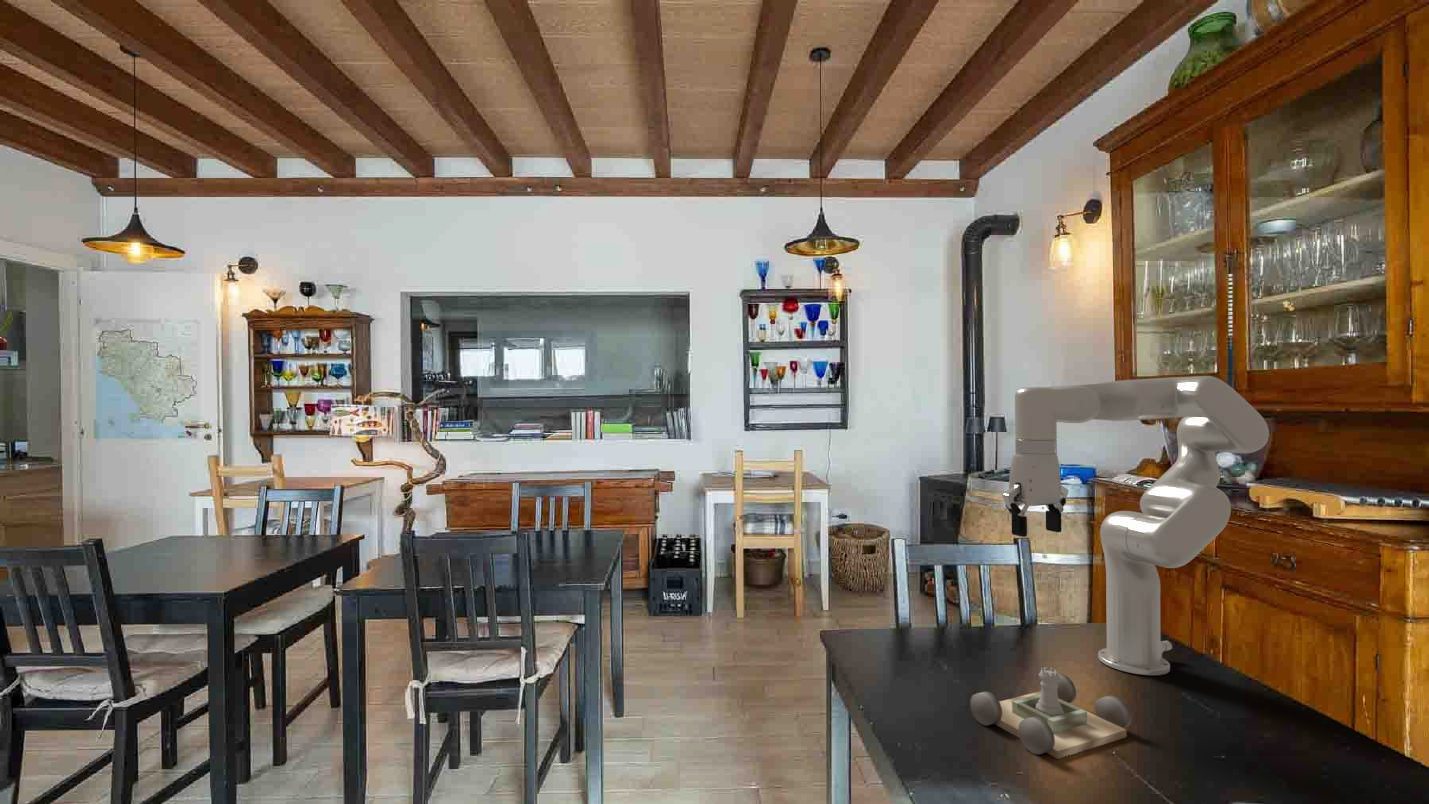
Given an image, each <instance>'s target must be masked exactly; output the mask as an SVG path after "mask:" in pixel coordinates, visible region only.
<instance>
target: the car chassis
mask: <svg viewBox="0 0 1429 804" xmlns="http://www.w3.org/2000/svg"><path fill="white" fill-rule="evenodd" d="M1058 675H1059V677H1060V679H1059V680H1058V681H1057V685H1058V686H1059V687H1058V688H1057V693H1058V700H1059V703H1060V704H1061V707H1062V708H1063V711H1064V713H1063V714H1062V715H1059V716H1056V717H1050V716H1048V715H1046V714H1044V713H1042V712H1040V711H1038V710H1036V707H1035V706H1036V704H1037V703H1038V700H1039V699H1040V696H1041V690H1039V691H1035V692H1032V693H1028V694H1023V695H1020V696H1016V697H1012V698H1009V699H1005V700H1000V701H999V699H998V698H997V697H996V695H994V694H993V693H992V692H990V691H982V692H977V693H975V694H973V695H972V696H971V697H970V701H969V702H970V704H969V705H970V709H971V712H972V715H973V717H974V719H975V720H976V721H977V722H978V723H980V725H983V726H990V725H996V726H997V727H999V728H1001V729H1003V730H1004V731H1006V732H1008V733H1009V734H1012V735H1013V736H1015V737H1017V738H1019V739H1020V741H1021V743H1022V745H1023V746H1024V747H1025V749H1026V750H1027V751H1029V752H1030V753H1032V754H1034V755H1042V754H1045V753H1046V754H1048V755H1049V756H1051V755H1052V756H1051V757H1053V756H1054V757H1053V758H1055V759H1057V760H1059V759H1063V758H1065V756H1066V757H1069V756H1072V755H1075V754H1079V753H1081V752H1085V751H1088V750H1091V749H1094V748H1097V747H1101V746H1103V745H1107V744H1109V743H1112V742H1113V743H1114V742H1115V741H1118V740H1121V739H1125V738H1127V736H1128V735H1127V734H1128V733H1127V731H1128V730H1127V729H1126V728H1127V727H1129V726H1130V725H1131V722H1132V713H1131V709H1130V708H1129V706H1128V705H1127V703H1126V702H1125V701H1124V700H1123V699H1122V698H1120V697H1118V696H1117V695H1116V696H1115V695H1107V696H1103V697H1100V698H1098V699H1097V700H1096V701H1095V704H1094V711H1095V714H1093V713H1091V712H1089V711H1087V710H1085V709H1083V708H1080V707H1078V706H1076V705H1073V704H1072V703H1073V702H1074V701H1075V699H1076V697H1077V689H1076V687H1075V686H1076V685H1074V682H1073V681H1072V679H1070V677H1068V675H1065V674H1063V673H1058ZM1078 752H1079V753H1078ZM1068 755H1069V756H1068ZM1062 757H1063V758H1062Z"/></svg>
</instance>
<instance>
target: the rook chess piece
mask: <svg viewBox="0 0 1429 804" xmlns="http://www.w3.org/2000/svg"><path fill="white" fill-rule="evenodd" d="M1058 674H1059V673H1058V670H1057V669H1054V668H1053V667H1050V668H1049V670H1048V667H1046V666H1045V667H1041V668H1040V672H1039V673H1038V676H1039V678H1040V679H1041V681H1040V683H1039V684H1040V686H1041V689H1040V691H1041V696H1040V699H1039V700H1038V703H1037V704H1036V706H1035V707H1036V710H1038V711H1040V712H1042V713H1044V714H1046V715H1048V716H1050V717H1056V716H1059V715H1062V714H1063V713H1064V711H1063V708H1062V707H1061V704H1060V703H1059V700H1058V693H1057V688H1058V687H1059V686H1058V685H1057V681H1058V680H1059V679H1060V677H1059V675H1058Z"/></svg>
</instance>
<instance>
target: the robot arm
mask: <svg viewBox="0 0 1429 804" xmlns="http://www.w3.org/2000/svg"><path fill="white" fill-rule="evenodd" d="M1168 418H1169V419H1170V418H1181V420H1180V421H1179V423H1178V425H1177V428H1176V439H1177V447H1178V452H1177V453H1178V455H1177V458H1176V461H1175V462H1174V464H1172V465H1171V466H1170V467H1169V468H1168V469H1167V471H1165V472H1164V473H1163V474H1162V475H1161V476H1160V477H1159V478H1158V479H1157V480H1156V481H1155V482H1154V483H1152V484H1151V485H1150V486H1149V487H1148V488H1147V489H1146V490H1145V491H1144V492H1143V494H1142V496H1141V498H1140V500H1139V508H1140V510H1141V512H1138V511H1133V510H1119V511H1115V512H1112V513H1110V514H1108V515H1107V516H1106V517H1105V518H1104V519H1103V521H1102V522H1101V525H1100V528H1099V529H1100V530H1099V532H1100V534H1099V536H1100V542H1101V543H1100V544H1101V546H1102V550H1103V555H1104V562H1105V563H1104V564H1105V575H1106V576H1105V581H1106V582H1105V583H1106V584H1105V585H1106V586H1105V587H1106V588H1105V591H1106V592H1105V593H1106V594H1105V595H1106V596H1105V597H1106V599H1105V601H1106V602H1105V604H1106V607H1105V609H1106V612H1105V613H1106V618H1105V619H1106V622H1105V623H1106V647H1105V648H1102V649H1100V650H1099V651H1098V652H1097V653H1098V654H1097V656H1098V660H1099V661H1100V662H1101V663H1103V664H1104V665H1106V666H1108V667H1110V668H1112V669H1116V670H1118V671H1121V672H1126V673H1129V674H1134V675H1142V676H1162V675H1166V674H1168V673H1169V672H1170V671H1171V664H1170V663H1169V661H1168V660H1167V659H1166V658H1164V657H1163V654H1164V652H1165V651H1166V652H1167V651H1170V650H1172V649H1173V644H1172V642H1170V641H1169V640H1162V641H1161V578H1160V576H1159V572H1158V569H1157V567H1156V566H1159V567H1161V568H1168V569H1177V568H1180V567H1183V566H1186V564H1188V563H1190V562H1191V561H1192V560H1194V558H1195V557H1197V556H1198V555H1199V554H1200V553H1201V552H1202V551H1203V550H1204V549H1205V548H1206V547H1207V546H1208V545H1209V544H1210V543H1211V542H1213V540H1215V538H1217V536H1219V534H1220V533H1221V532H1222V531H1223V530H1224V529H1225V527H1227V525H1228V523H1229V521H1230V517H1231V513H1232V508H1231V507H1232V505H1231V502H1230V499H1229V497H1228V495H1227V494H1226V493H1225V492H1224V491H1223V490H1221V489H1219V488H1218V485H1219V483H1220V479H1221V471H1220V468H1219V465H1218V462H1217V457H1216V453H1215V452H1217V453H1219V452H1220V453H1232V454H1233V453H1234V454H1251V453H1255V452H1257V451H1260V450H1261V449H1263V448H1264V447H1265V446H1266V444H1267V443H1268V440H1269V436H1270V429H1269V427H1268V424H1267V421H1266V420H1265V419H1264V417H1263V416H1262V415H1261V414H1260V413H1259V412H1258V411H1257V409H1255V408H1254V406H1252V405H1251V404H1250V403H1249V402H1248V401H1247V400H1246V399H1245V398H1244V397H1243V396H1242V395H1241V394H1240V393H1238V392H1237V390H1235V389H1234V388H1233V387H1231V386H1230V385H1229V384H1228V383H1226V382H1225V381H1223V380H1222V379H1220V378H1218V377H1216V376H1213V375H1212V376H1211V375H1199V376H1198V375H1196V376H1195V375H1194V376H1177V377H1176V376H1173V377H1155V378H1143V379H1142V378H1141V379H1124V380H1123V379H1122V380H1112V381H1105V382H1098V383H1091V384H1076V385H1061V386H1060V385H1059V386H1057V385H1056V386H1044V387H1043V386H1042V387H1040V386H1037V387H1036V386H1034V387H1033V386H1031V387H1021V388H1018V389H1017V390H1016V391H1015V393H1014V426H1015V428H1014V432H1015V434H1014V435H1015V436H1014V437H1015V439H1014V441H1015V444H1014V445H1015V448H1014V449H1015V452H1014V453H1015V455H1012V459H1011V464H1010V470H1009V482H1008V490H1007V491H1005V492H1003V494H1002V498H1003V502H1004V504H1005V508H1006V509H1007V510H1008V515H1010V516H1011V534H1012V535H1013V536H1018V537H1023V538H1025V537H1027V536H1028V517H1027V516H1026V512H1027V511H1028V509H1029V507H1037V506H1038V507H1039V506H1045V507H1046V510H1045V529H1046V531H1049V532H1055V533H1062V513H1063V512H1064V506H1065V505H1066V503H1067V497H1068V495H1069V489H1068V488H1067V487H1065V486H1063V485H1062V478H1061V469H1060V462H1059V458H1058V454H1057V452H1058V448H1057V446H1058V444H1057V440H1058V439H1057V437H1058V436H1057V433H1058V432H1057V429H1058V428H1057V425H1058V424H1057V423H1064V424H1083V423H1087V422H1090V421H1091V420H1097V421H1098V420H1099V421H1109V422H1110V421H1112V422H1113V421H1114V422H1117V421H1118V422H1122V421H1123V422H1124V421H1125V422H1126V421H1128V422H1130V421H1133V422H1134V421H1142V420H1157V419H1168Z"/></svg>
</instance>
